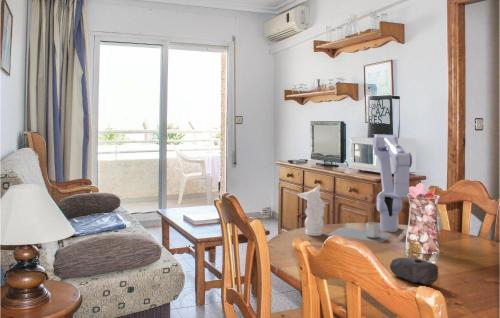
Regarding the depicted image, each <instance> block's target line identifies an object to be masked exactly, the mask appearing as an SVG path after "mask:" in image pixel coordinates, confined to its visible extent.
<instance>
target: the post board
mask: <svg viewBox="0 0 500 318" xmlns="http://www.w3.org/2000/svg"><path fill="white" fill-rule="evenodd" d="M331 235H340V236H343V237H342V238H346V239H352V240H353V239H354V240H362V241H369V242H376V243H384V242H386V240H387V239H389V238H390V237H391V236H392V235H393V233H390V232H389V233H387V232H381V231H380V237H376V238H373V237H368V236H366V229H365V230H363V229H357V228H356V229H355V228H348V227H341V226H340V227H338V228H337V229H335V230H333V231H331V232H330V233H328V234H327V236H331Z"/></svg>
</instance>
